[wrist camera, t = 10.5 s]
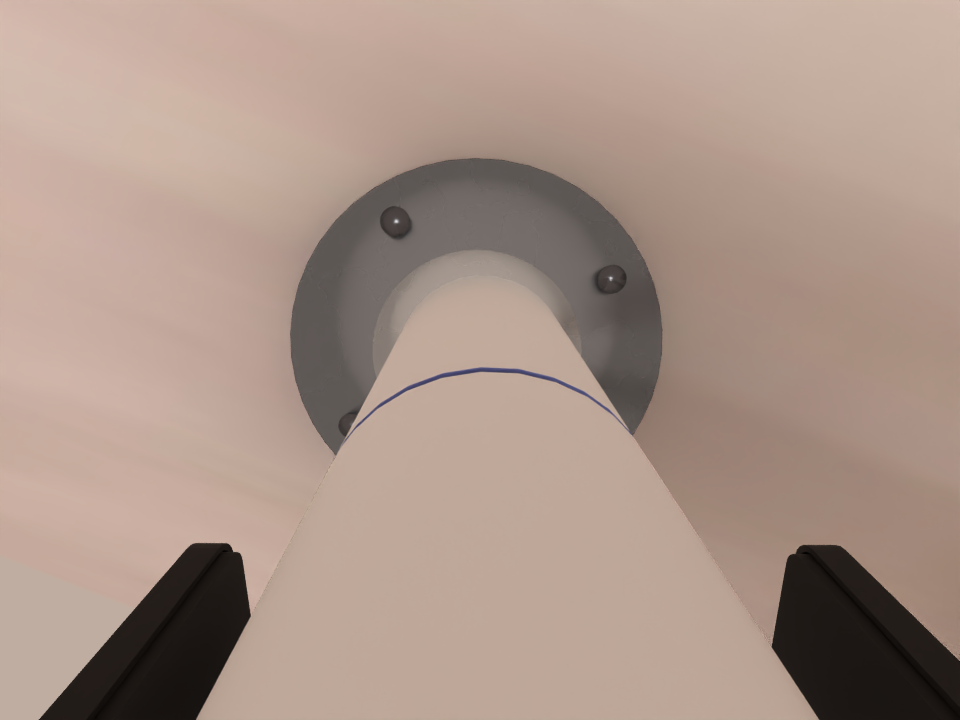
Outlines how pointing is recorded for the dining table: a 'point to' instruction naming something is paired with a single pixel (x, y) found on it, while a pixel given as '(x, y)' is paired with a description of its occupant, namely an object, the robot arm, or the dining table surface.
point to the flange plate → (463, 253)
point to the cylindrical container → (497, 553)
